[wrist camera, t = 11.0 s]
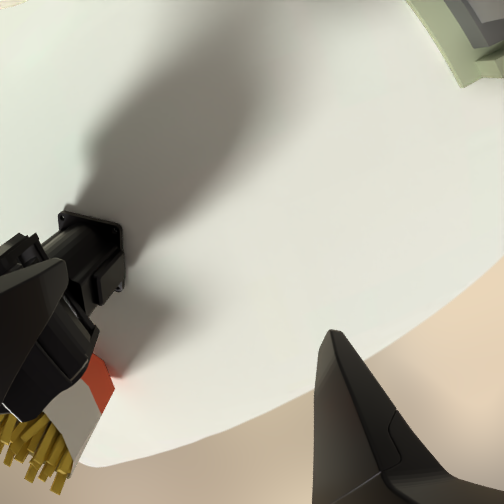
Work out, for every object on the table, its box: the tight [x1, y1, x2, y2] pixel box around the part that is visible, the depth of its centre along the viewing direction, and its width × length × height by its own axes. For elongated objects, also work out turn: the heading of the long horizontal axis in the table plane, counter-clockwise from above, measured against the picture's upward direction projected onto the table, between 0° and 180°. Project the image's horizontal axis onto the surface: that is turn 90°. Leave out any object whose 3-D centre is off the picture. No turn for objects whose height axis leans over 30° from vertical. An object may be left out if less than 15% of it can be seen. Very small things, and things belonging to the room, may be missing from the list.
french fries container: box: [0, 353, 115, 495], centre depth 24 cm, size 5×11×18 cm, turn 53°
